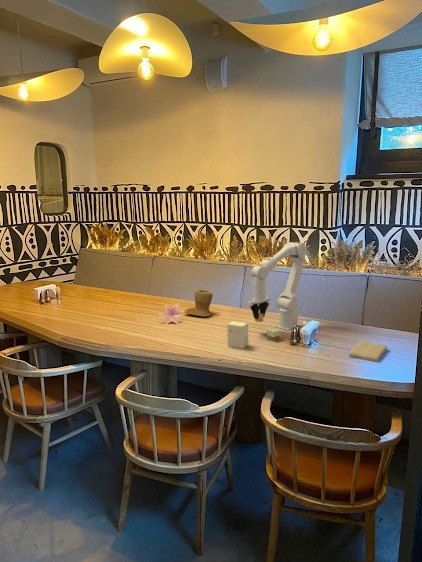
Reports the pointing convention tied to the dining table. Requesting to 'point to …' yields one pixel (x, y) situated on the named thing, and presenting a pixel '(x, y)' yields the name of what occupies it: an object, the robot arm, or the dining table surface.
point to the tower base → (273, 338)
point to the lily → (171, 314)
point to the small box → (237, 334)
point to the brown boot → (201, 304)
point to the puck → (259, 318)
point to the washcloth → (368, 351)
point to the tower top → (273, 332)
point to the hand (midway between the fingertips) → (259, 317)
